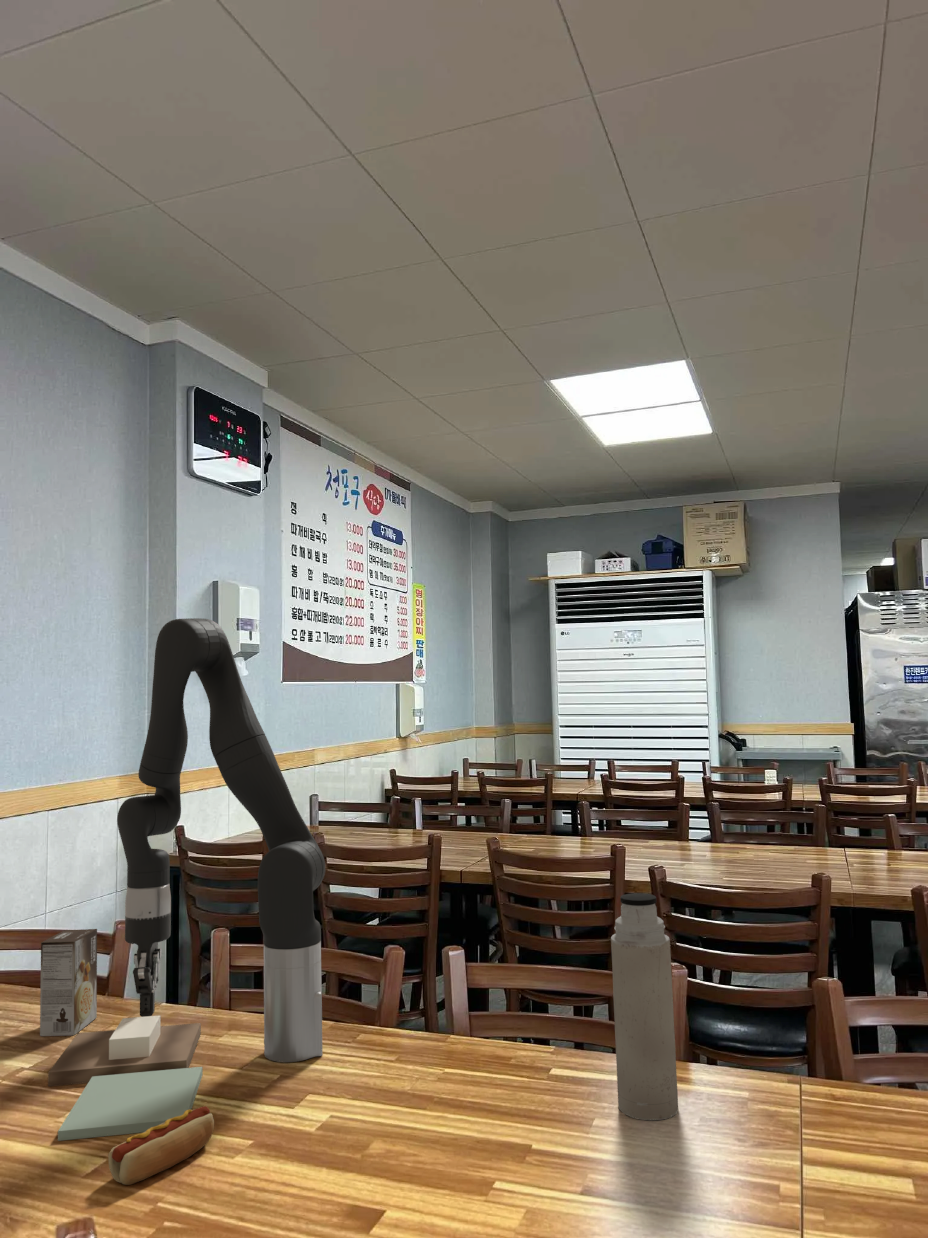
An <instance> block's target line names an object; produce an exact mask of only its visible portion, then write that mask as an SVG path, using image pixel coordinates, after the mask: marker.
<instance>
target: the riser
mask: <svg viewBox="0 0 928 1238" xmlns="http://www.w3.org/2000/svg"><path fill="white" fill-rule="evenodd" d="M201 1026H202V1023H201V1022H199V1023H198V1022H196V1023H183V1024H171V1025H160V1036H159V1038H158V1040H157V1042H156V1044H155V1046H154V1048H153V1050H152V1052H151V1054H150V1056H149V1057H137V1058H126V1059H114V1060H109V1039H110V1038H111V1036H112V1034H113V1033H114V1031H115V1030H116V1029H110V1030H100V1031H98V1030H97V1031H84V1032H78V1033H77V1034H75V1035H74V1038H73V1039H72V1040H71V1042H70V1043H69V1044H68V1046H66V1049H64V1050H63V1052H62V1054H61V1055H60V1056H59V1057H58V1059H57V1060H55V1061H56V1062H55V1063H54V1064H53V1065H52V1067H51V1068H50V1070H49V1071H47V1072H48V1073H47V1087H56V1086H68V1085H77V1084H88V1082H89V1081H90V1079H91V1078H92V1077H93V1076H104V1075H115V1074H126V1073H137V1072H148V1071H159V1070H170V1069H182V1068H190V1065H191V1063H192V1060H193V1057H194V1055H193V1054H195V1051H196V1050H197V1049H196V1048H197V1046H198V1044H199V1041H200V1038H201V1036H200V1035H202V1032H201V1031H202V1029H201V1028H202V1027H201ZM198 1040H199V1041H198ZM197 1043H198V1044H197Z"/></svg>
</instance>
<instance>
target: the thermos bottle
mask: <svg viewBox="0 0 928 1238" xmlns="http://www.w3.org/2000/svg"><path fill="white" fill-rule="evenodd" d="M619 897H620V903H621V906H620V913H621V914H620V916H618V917H617V918H616V919H615V922H614V923H615V925H614V927H613V928H614V930H615V933H614V934H612V935H611V937H610V945H611V963H612V964H611V965H612V991H613V992H612V993H613V994H612V995H613V1013H614V1016H613V1017H614V1037H615V1039H614V1040H615V1057H616V1059H615V1060H616V1061H615V1062H616V1084H617V1085H616V1086H617V1104H618V1105H617V1106H618V1108H619V1111H620V1112H622V1114H624V1115H626V1116H628V1117H630V1118H632V1119H638V1120H642V1121H662V1120H666V1119H670V1118H672V1117H674V1116H675V1115H676V1114H677V1113H678V1111H679V1096H678V1095H679V1094H678V1079H677V1078H678V1076H677V1056H676V1040H675V1039H676V1037H675V1034H676V1033H675V1019H674V1017H675V1016H674V1003H673V1002H674V999H673V997H674V996H673V978H672V960H671V959H672V958H671V957H672V956H671V942H670V941H671V940H670V937H669V936H668V935H667V934H665V928H666V926H665V924H664V920H663V919H662V918H661V917H659V916H658V912H657V909H658V908H657V906H656V904H657V897H656V896H655V895H654V894H651V893H650V894H649V893H640V892H638V893H637V892H635V893H633V892H632V893H625V894H622V895H620V896H619Z"/></svg>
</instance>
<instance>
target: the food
mask: <svg viewBox="0 0 928 1238" xmlns="http://www.w3.org/2000/svg"><path fill="white" fill-rule="evenodd" d="M213 1116H214V1115H213V1114H212V1112H211V1109H210V1107H208V1106H206V1105H205V1106H204V1105H203V1106H201V1107H197V1108H193V1109H191V1110H186V1111H185V1112H184V1114H183V1115H180V1116H177V1117H174V1118H171V1119H168V1120H166V1121H165V1122H164V1123H162V1124H160V1125H158V1126H155V1127H151V1128H150V1129H148V1130H146V1131H145V1132H141V1133H136V1134H134V1135H132V1136H130V1137H127V1139H126V1141H123V1142H121V1143H120V1144H118V1145H116V1146H113V1147H112V1148H111V1149H110V1151H109V1153H108V1155H107V1156H108V1168H109V1169H108V1170H109V1172H110V1174H111V1177H112V1179H113V1180H114V1181H116V1182H117V1183H120V1184H122V1185H124V1186H128V1185H129V1186H130V1185H133V1184H136V1183H138V1182H141V1181H144V1180H145V1179H148V1178H150V1177H153V1176H154V1175H156V1174H158V1173H161V1172H163V1171H166V1170H168V1169H171V1168H172V1167H174V1166H176V1165H177V1164H179V1163H181V1162H183V1161H185V1160H187V1159H188V1158H190V1157H192V1156H193V1155H194V1154H196V1153H197V1152H198V1151H200V1150H201V1149H202V1148H203V1147H205V1145H207V1143H209V1140H210V1139H211V1137H212V1136H213V1132H214V1129H215V1120H214V1117H213Z"/></svg>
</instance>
